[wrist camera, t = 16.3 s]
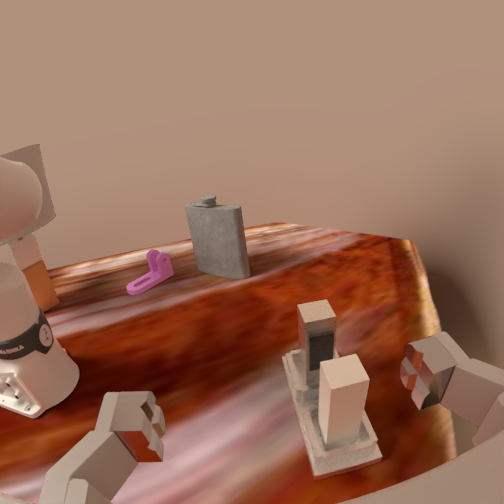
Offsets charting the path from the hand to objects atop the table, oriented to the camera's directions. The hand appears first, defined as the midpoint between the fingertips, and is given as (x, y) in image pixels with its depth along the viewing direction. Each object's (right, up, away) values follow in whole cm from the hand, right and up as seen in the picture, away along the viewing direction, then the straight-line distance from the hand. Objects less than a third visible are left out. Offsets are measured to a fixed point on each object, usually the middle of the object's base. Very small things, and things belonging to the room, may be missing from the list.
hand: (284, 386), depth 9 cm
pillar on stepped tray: (+9, -18, +31) cm, 37 cm away
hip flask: (-9, -1, +72) cm, 73 cm away
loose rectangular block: (+10, -19, +25) cm, 33 cm away
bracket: (-28, -4, +72) cm, 77 cm away
